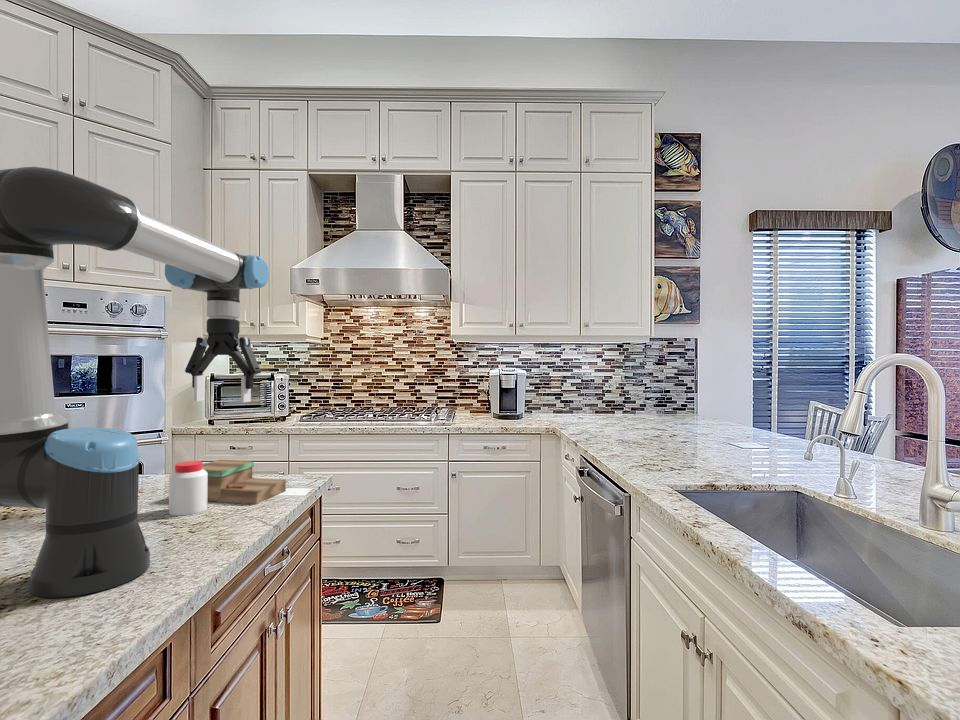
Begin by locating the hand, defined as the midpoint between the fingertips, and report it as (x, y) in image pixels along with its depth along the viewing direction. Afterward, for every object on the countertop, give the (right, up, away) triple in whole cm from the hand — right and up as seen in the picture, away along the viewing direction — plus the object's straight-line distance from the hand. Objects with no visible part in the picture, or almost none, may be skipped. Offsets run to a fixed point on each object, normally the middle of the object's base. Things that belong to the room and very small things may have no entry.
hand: (222, 401), depth 126 cm
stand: (+3, -24, +1) cm, 25 cm away
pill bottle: (-1, -25, -12) cm, 27 cm away
